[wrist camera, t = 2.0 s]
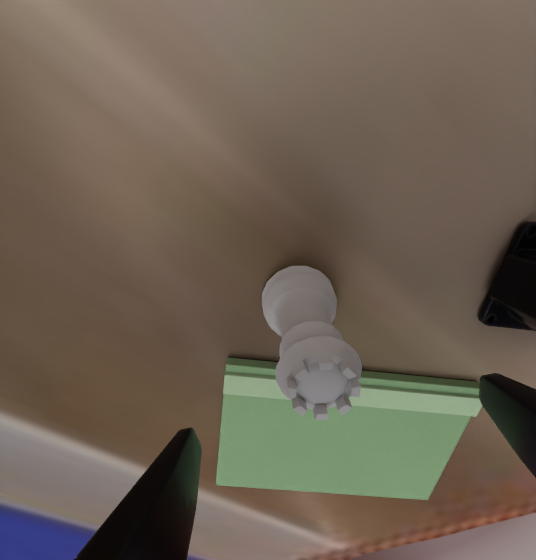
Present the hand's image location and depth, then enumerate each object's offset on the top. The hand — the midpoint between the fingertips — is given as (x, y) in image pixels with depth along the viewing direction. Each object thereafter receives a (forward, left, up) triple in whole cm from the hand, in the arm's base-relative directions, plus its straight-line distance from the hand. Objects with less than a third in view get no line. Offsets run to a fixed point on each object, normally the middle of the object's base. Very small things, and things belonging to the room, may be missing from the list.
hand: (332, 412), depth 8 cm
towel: (-5, +11, -9) cm, 15 cm away
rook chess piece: (0, 0, -9) cm, 9 cm away
